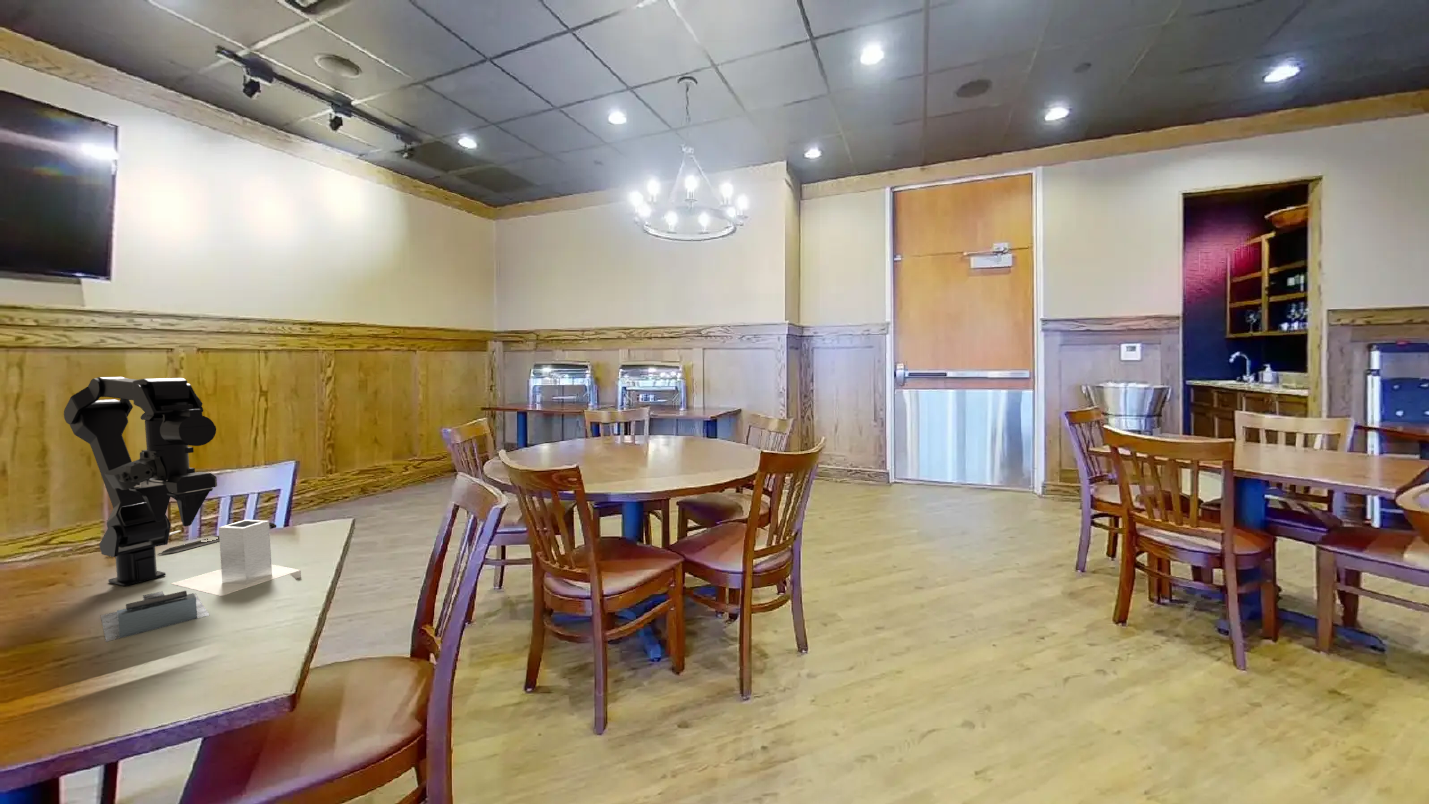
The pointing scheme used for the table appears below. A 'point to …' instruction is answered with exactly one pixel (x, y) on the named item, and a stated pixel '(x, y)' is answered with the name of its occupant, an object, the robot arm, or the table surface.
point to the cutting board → (215, 586)
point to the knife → (195, 544)
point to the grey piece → (152, 614)
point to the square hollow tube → (245, 551)
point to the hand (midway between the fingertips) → (173, 523)
